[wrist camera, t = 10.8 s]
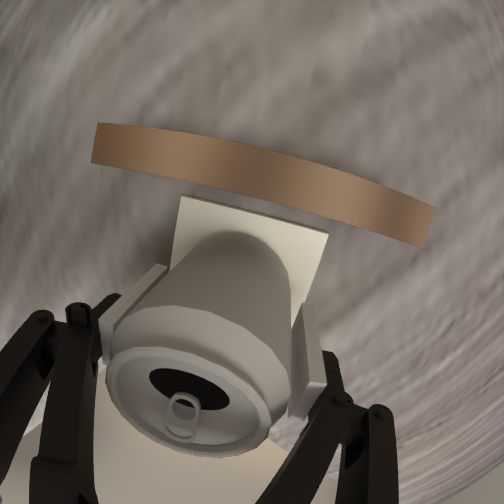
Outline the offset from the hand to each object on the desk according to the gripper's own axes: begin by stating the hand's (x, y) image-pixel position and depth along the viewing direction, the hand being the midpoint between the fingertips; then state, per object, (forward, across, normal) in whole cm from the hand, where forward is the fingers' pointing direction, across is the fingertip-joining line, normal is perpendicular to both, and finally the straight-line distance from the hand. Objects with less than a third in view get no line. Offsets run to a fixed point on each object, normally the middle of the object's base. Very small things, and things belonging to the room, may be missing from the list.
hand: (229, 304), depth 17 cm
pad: (+4, 0, 0) cm, 4 cm away
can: (+3, 0, 0) cm, 3 cm away
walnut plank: (+4, 0, +8) cm, 9 cm away
